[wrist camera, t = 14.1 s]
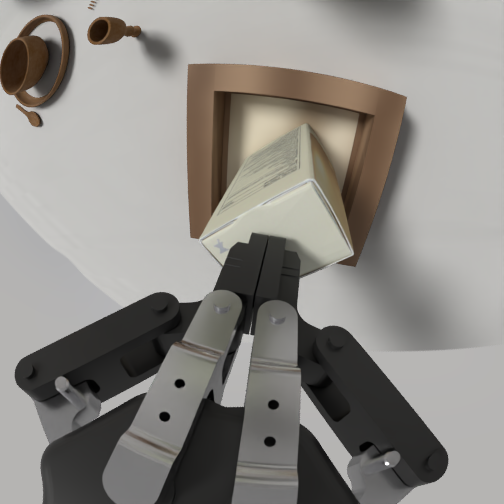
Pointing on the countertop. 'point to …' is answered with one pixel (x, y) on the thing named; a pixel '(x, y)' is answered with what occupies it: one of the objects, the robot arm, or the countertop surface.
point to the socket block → (281, 122)
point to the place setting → (36, 57)
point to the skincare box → (284, 203)
